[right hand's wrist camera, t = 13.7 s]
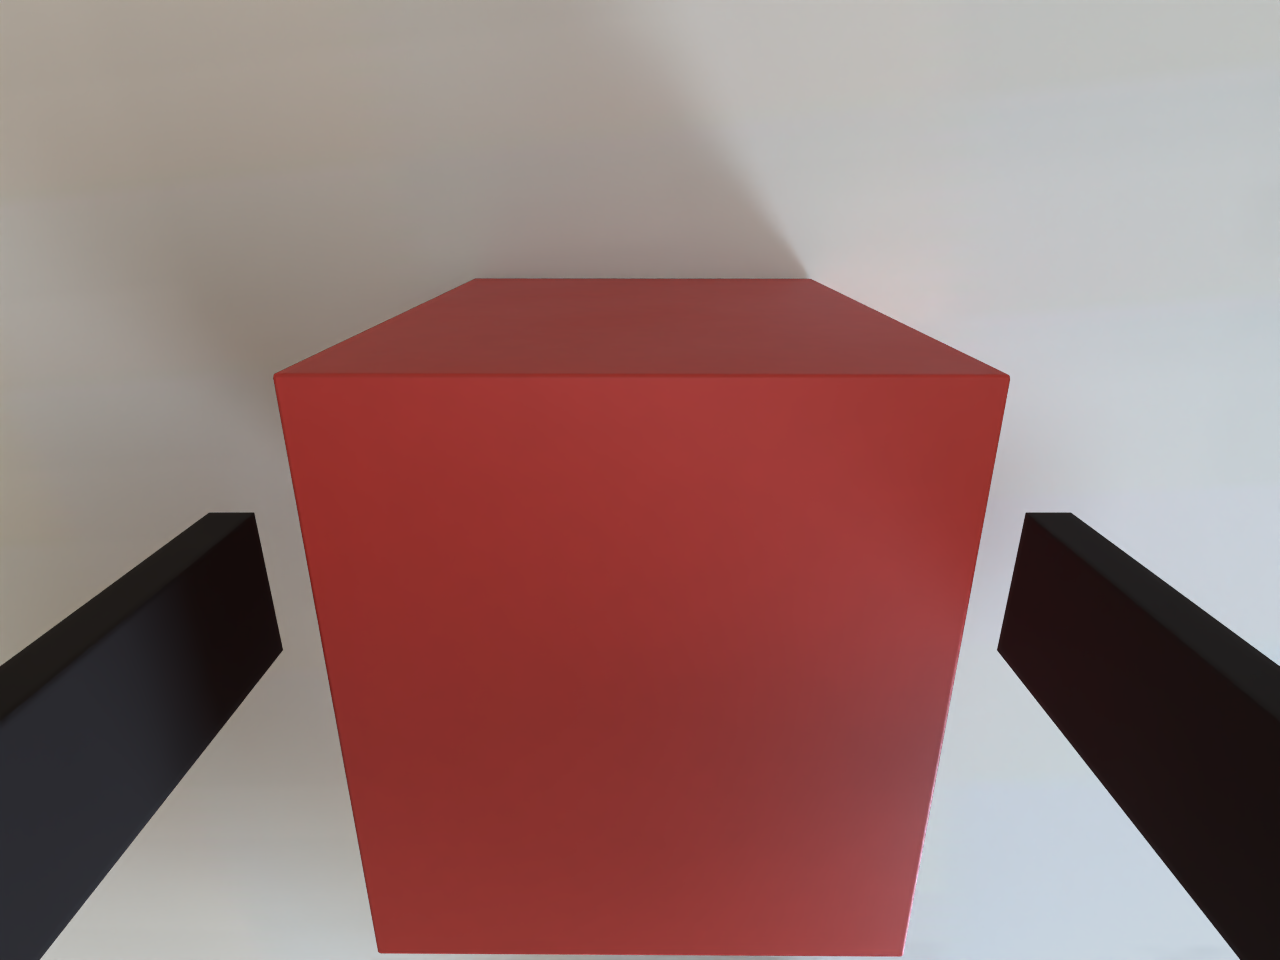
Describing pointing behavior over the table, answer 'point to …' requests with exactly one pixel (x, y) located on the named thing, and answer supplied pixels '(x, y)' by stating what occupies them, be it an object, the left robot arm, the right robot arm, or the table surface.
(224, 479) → the table surface
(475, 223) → the table surface
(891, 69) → the table surface
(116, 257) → the table surface
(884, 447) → the brick
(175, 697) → the right robot arm
